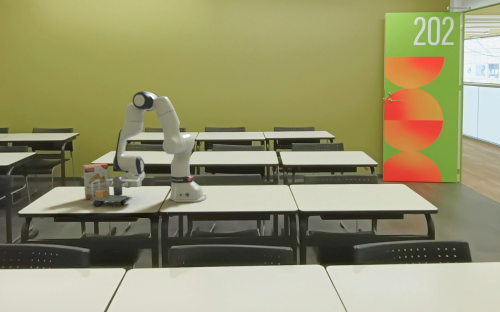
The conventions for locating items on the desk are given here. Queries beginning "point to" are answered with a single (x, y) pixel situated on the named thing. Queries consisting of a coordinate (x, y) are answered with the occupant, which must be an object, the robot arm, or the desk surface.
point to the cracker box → (95, 178)
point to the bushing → (117, 185)
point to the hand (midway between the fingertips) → (116, 185)
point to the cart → (107, 197)
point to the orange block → (100, 193)
